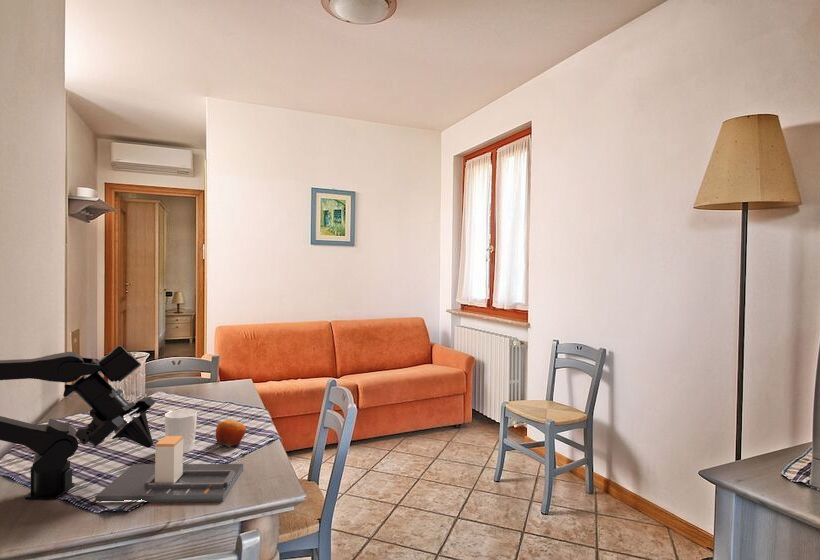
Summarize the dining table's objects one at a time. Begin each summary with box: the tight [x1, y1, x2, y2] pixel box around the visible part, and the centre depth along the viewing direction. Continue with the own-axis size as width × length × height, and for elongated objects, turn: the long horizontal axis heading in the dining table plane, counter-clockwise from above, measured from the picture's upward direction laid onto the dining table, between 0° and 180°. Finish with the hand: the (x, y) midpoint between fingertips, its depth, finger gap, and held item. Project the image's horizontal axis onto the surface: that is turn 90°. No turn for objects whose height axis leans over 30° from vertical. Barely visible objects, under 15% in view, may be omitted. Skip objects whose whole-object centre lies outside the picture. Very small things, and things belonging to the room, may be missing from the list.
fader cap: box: [154, 435, 184, 483], centre depth 107 cm, size 4×5×9 cm
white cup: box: [164, 408, 198, 455], centre depth 128 cm, size 8×8×10 cm
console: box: [94, 463, 244, 504], centre depth 108 cm, size 26×16×2 cm, turn 95°
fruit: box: [215, 419, 247, 450], centre depth 133 cm, size 8×8×8 cm
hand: (151, 445), depth 108 cm, fingers closed
